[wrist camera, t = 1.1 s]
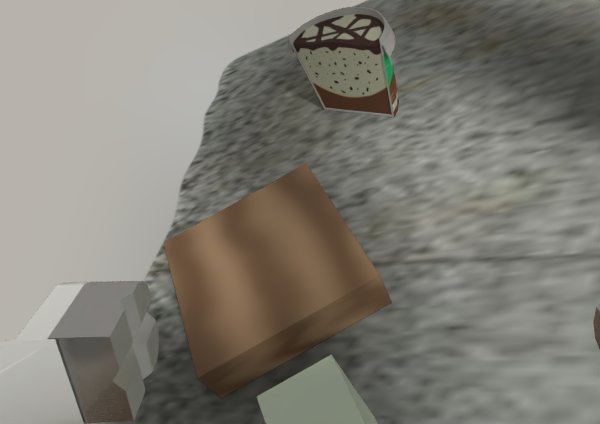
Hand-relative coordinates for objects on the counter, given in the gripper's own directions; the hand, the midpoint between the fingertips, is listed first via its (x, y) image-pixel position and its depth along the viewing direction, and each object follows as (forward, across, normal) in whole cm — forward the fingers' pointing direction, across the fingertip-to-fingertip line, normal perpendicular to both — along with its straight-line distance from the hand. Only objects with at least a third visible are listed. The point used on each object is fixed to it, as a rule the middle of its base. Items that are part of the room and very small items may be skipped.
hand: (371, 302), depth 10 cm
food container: (+54, -5, +11) cm, 55 cm away
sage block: (+16, -1, +26) cm, 31 cm away
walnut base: (+33, +6, +22) cm, 40 cm away
